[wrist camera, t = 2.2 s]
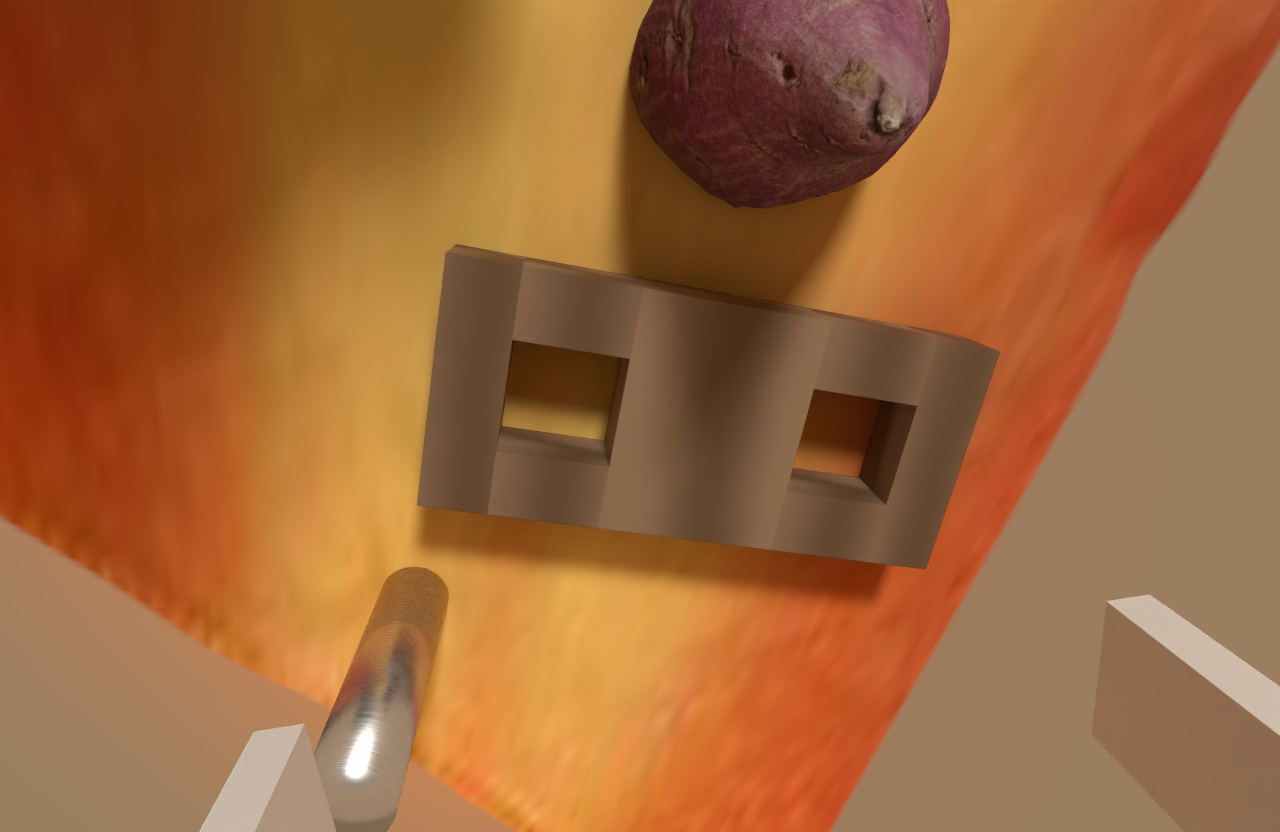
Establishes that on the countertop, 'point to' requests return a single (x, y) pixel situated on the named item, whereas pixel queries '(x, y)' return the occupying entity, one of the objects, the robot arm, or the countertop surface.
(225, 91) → the countertop surface
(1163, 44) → the countertop surface
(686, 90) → the vegetable
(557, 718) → the countertop surface
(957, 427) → the board
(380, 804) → the pin
